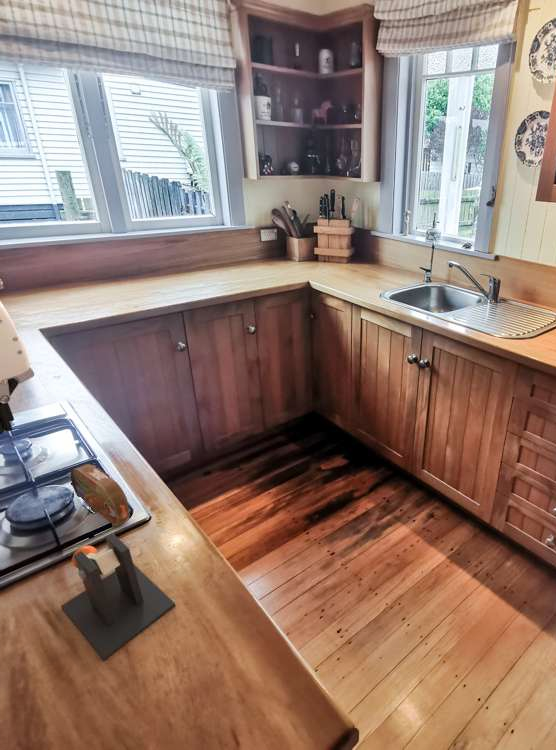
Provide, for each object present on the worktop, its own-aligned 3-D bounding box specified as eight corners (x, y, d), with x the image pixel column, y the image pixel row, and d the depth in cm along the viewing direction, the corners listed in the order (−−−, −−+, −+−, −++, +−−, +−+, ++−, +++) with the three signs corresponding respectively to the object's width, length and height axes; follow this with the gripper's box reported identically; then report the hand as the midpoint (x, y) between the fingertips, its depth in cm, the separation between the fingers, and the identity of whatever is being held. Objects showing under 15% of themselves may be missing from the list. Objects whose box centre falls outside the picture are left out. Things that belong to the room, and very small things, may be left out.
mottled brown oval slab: (75, 499, 86) (63, 463, 82) (92, 490, 88) (81, 454, 84) (119, 537, 78) (108, 498, 74) (137, 525, 81) (127, 487, 77)
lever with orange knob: (75, 572, 68) (65, 553, 67) (98, 559, 70) (88, 540, 70) (100, 580, 60) (89, 559, 59) (125, 565, 62) (114, 544, 62)
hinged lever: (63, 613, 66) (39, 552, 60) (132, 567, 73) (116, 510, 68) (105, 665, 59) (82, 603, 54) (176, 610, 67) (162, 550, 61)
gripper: (12, 277, 61) (51, 399, 69) (-149, 303, 50) (-80, 443, 58) (36, 288, 57) (74, 416, 65) (-133, 319, 46) (-62, 467, 55)
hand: (1, 428), depth 62 cm, fingers closed
